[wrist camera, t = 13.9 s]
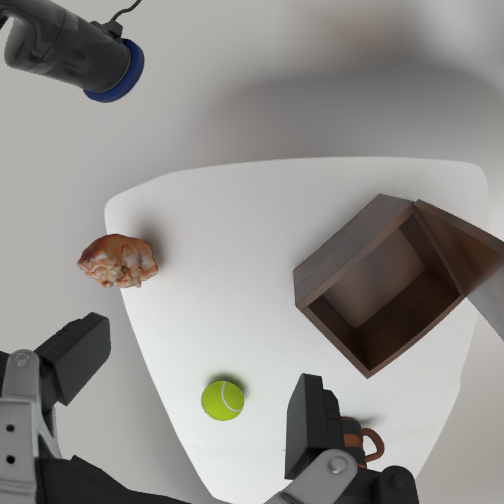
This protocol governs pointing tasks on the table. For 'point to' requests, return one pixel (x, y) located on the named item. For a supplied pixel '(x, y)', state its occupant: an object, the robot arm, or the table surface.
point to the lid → (471, 260)
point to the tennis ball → (222, 400)
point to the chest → (378, 284)
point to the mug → (360, 442)
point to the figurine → (118, 261)
